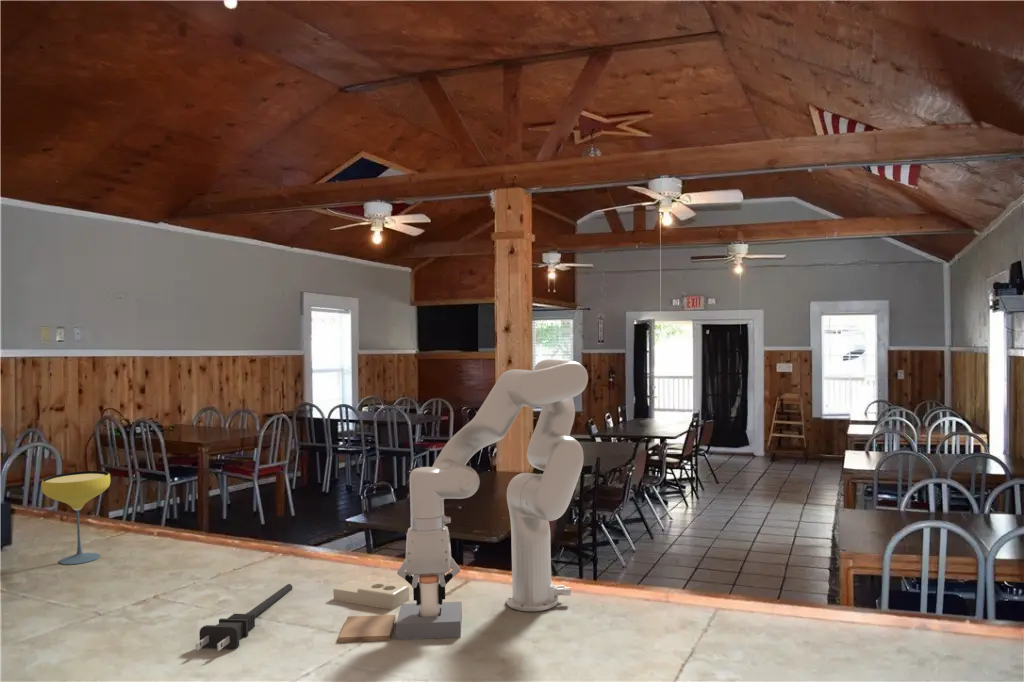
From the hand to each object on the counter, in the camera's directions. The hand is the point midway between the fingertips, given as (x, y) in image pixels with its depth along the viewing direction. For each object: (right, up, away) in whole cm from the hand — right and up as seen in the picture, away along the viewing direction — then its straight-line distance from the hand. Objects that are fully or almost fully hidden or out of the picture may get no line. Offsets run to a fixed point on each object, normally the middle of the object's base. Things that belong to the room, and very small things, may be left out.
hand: (429, 602), depth 178 cm
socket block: (0, -6, 0) cm, 6 cm away
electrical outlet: (-16, -6, +19) cm, 26 cm away
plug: (0, -6, 0) cm, 6 cm away
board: (-14, -6, 0) cm, 15 cm away
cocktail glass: (-111, -7, +59) cm, 126 cm away
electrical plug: (-42, -7, +8) cm, 44 cm away
